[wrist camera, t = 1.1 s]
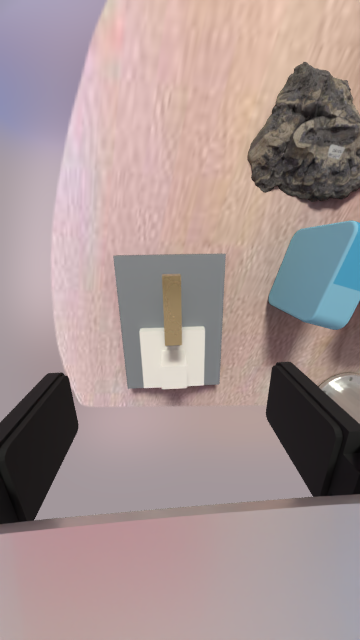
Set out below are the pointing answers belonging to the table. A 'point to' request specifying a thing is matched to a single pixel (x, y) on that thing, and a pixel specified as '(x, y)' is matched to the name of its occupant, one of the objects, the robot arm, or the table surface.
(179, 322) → the tan t-shaped piece
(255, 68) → the table surface
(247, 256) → the table surface
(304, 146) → the geode
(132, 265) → the plate
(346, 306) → the data package
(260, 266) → the table surface
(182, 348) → the lid
